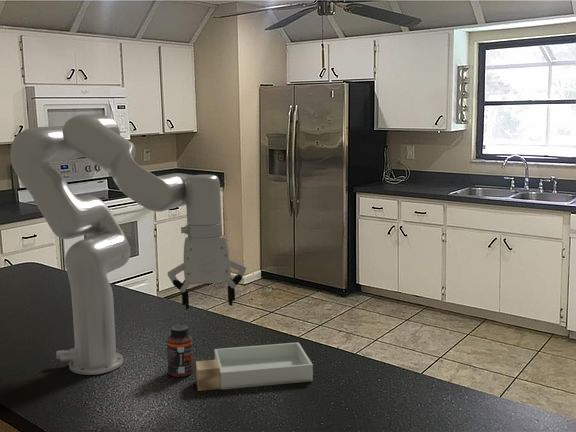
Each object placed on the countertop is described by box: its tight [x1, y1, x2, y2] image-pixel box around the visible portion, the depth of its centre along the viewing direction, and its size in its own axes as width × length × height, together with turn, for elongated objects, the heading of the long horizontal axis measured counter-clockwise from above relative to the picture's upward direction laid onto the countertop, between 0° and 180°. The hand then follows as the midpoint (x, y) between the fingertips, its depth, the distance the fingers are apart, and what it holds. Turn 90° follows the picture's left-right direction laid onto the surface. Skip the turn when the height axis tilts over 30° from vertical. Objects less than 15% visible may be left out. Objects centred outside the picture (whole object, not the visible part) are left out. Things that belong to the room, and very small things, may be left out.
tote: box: [214, 342, 314, 391], centre depth 147 cm, size 21×14×4 cm
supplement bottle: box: [166, 324, 194, 378], centre depth 146 cm, size 6×6×11 cm
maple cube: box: [195, 359, 221, 392], centre depth 140 cm, size 5×5×5 cm
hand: (209, 305), depth 139 cm, fingers open, 9 cm apart
